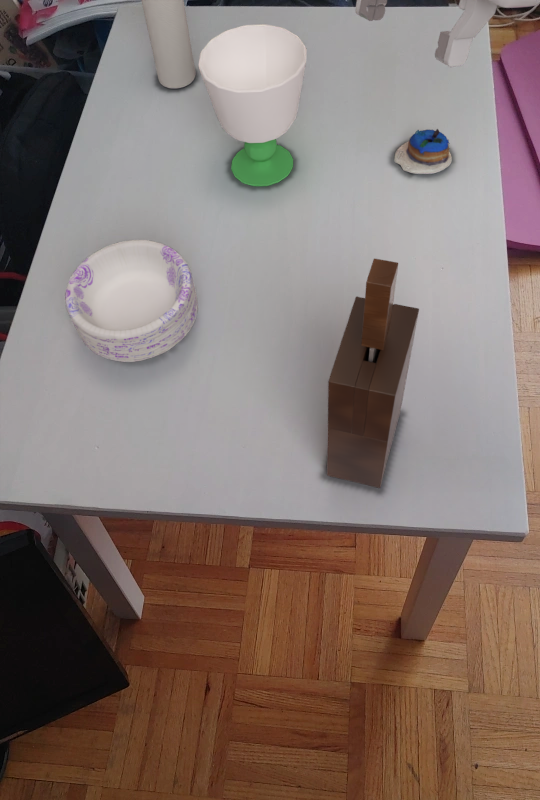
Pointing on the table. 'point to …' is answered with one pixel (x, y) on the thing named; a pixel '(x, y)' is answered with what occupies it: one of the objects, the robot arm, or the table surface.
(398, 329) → the knife block
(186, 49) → the paper towel roll
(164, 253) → the paper bowls
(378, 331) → the knife
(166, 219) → the table surface
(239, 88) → the cup
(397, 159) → the dessert
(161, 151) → the table surface
